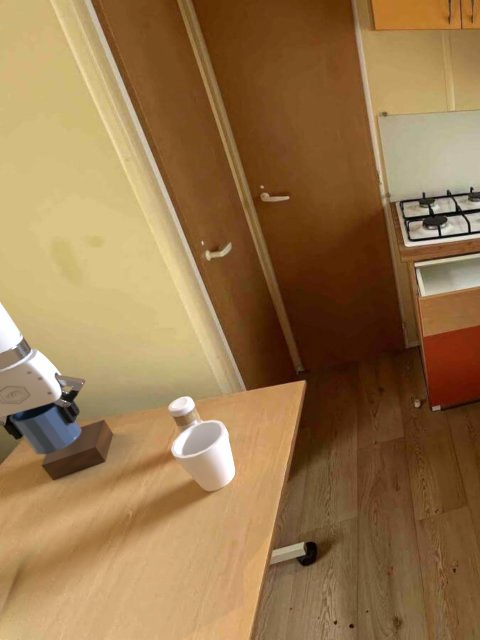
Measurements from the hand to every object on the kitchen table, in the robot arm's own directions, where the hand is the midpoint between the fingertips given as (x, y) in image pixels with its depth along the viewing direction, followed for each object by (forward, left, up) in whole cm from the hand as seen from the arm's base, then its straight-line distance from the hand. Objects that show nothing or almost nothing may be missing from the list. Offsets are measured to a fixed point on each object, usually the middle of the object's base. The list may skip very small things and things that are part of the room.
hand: (48, 425), depth 82 cm
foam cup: (+23, -11, -20) cm, 33 cm away
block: (-4, +12, -20) cm, 23 cm away
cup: (0, 0, -4) cm, 4 cm away
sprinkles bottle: (+19, +2, -20) cm, 28 cm away
